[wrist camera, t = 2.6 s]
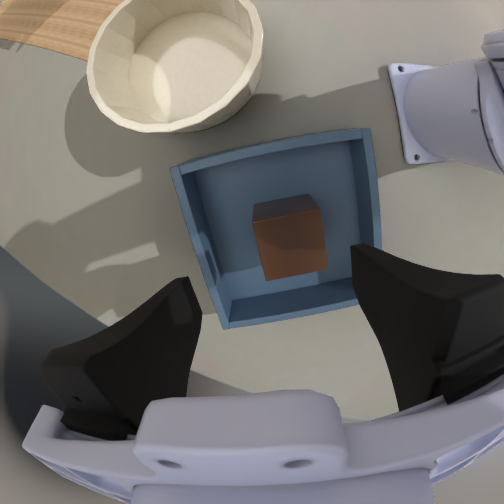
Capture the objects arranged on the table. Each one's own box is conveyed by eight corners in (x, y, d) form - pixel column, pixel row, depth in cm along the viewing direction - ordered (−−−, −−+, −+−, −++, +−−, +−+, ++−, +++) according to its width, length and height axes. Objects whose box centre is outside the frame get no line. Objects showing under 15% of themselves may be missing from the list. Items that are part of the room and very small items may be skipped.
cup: (244, -3, 13) (238, -41, 8) (276, 112, 17) (283, 103, 12) (118, 39, 14) (80, 21, 9) (142, 149, 18) (104, 158, 13)
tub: (352, 128, 17) (370, 128, 14) (367, 277, 22) (381, 299, 19) (184, 162, 18) (169, 168, 15) (227, 304, 23) (223, 329, 20)
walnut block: (308, 193, 18) (320, 208, 15) (316, 244, 20) (328, 269, 16) (253, 204, 19) (251, 222, 15) (265, 254, 21) (265, 282, 17)
